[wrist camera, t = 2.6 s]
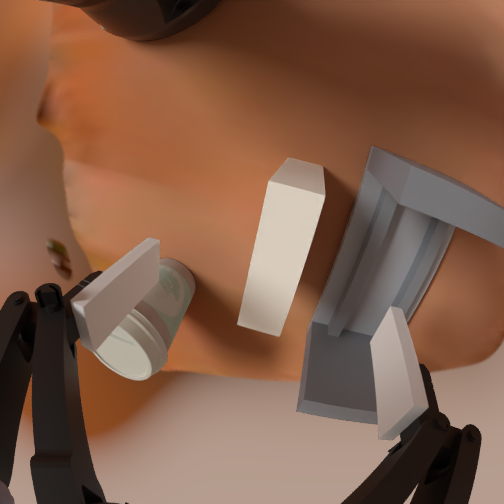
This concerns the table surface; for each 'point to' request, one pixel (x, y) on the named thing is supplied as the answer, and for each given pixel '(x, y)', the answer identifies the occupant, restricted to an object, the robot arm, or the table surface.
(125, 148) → the table surface
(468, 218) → the track
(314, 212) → the block
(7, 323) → the robot arm
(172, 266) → the coffee cup
